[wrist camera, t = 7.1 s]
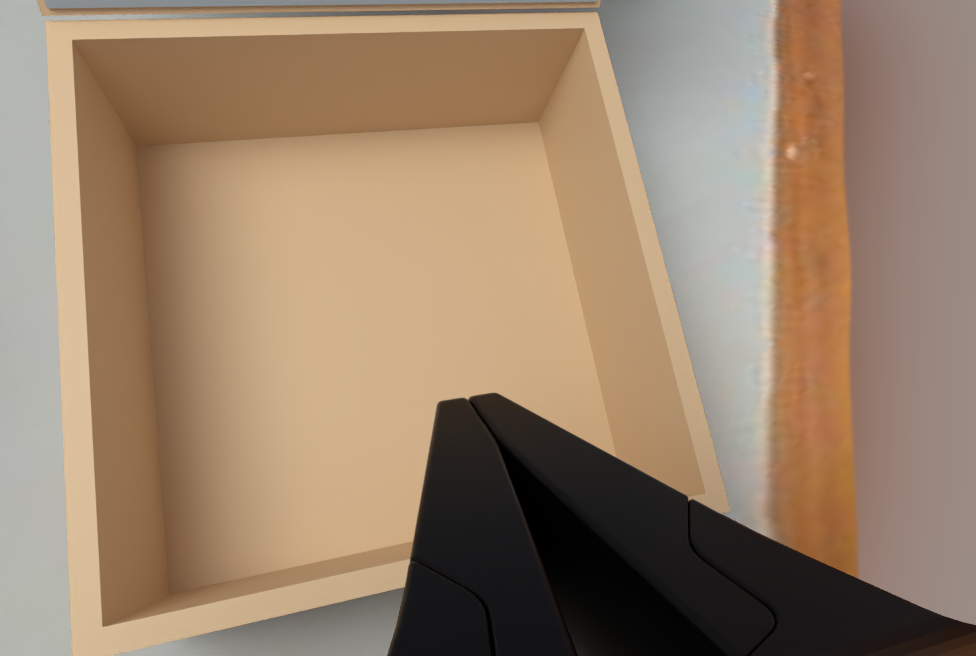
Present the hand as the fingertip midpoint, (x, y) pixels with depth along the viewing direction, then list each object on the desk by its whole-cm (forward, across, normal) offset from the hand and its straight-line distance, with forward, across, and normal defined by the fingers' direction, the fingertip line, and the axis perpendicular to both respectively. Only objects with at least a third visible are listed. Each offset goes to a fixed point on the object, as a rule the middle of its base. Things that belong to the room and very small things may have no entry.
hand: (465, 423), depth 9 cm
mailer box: (+14, 0, +5) cm, 14 cm away
